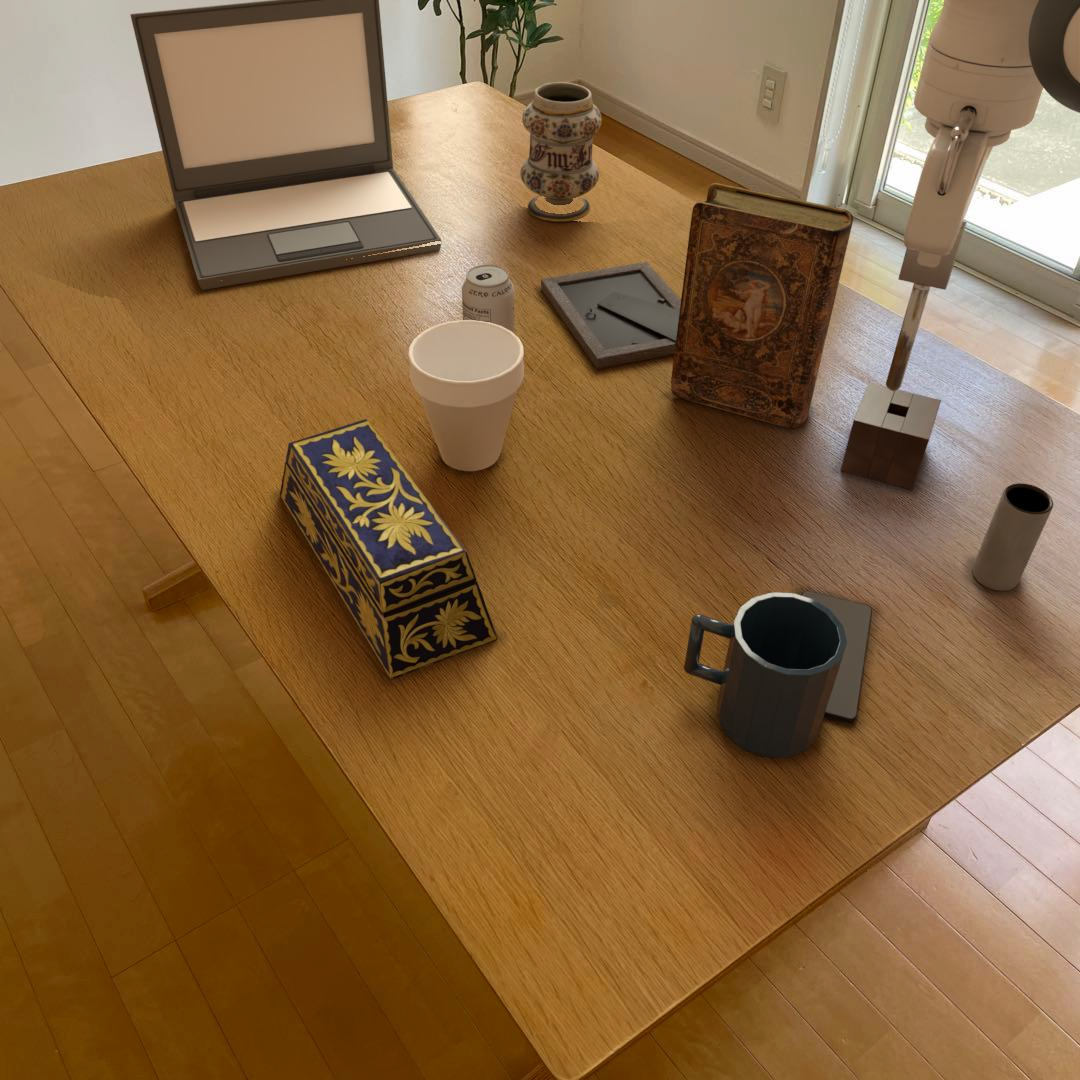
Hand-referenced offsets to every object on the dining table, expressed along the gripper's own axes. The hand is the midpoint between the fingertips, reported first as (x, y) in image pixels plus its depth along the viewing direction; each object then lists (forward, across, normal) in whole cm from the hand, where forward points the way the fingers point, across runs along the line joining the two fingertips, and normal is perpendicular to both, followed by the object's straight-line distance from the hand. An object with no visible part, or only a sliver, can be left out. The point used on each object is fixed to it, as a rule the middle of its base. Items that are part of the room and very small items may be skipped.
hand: (931, 255), depth 89 cm
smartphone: (+33, -18, -2) cm, 37 cm away
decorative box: (+32, -25, +42) cm, 59 cm away
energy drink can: (+32, +8, +47) cm, 57 cm away
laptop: (+32, +32, +91) cm, 101 cm away
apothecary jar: (+32, +56, +59) cm, 87 cm away
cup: (+32, -5, +42) cm, 53 cm away
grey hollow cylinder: (+32, 0, -14) cm, 35 cm away
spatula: (+14, 0, 0) cm, 14 cm away
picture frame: (+32, +30, +38) cm, 58 cm away
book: (+32, +18, +18) cm, 41 cm away
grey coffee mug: (+32, -27, +3) cm, 42 cm away
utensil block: (+32, +14, 0) cm, 35 cm away
